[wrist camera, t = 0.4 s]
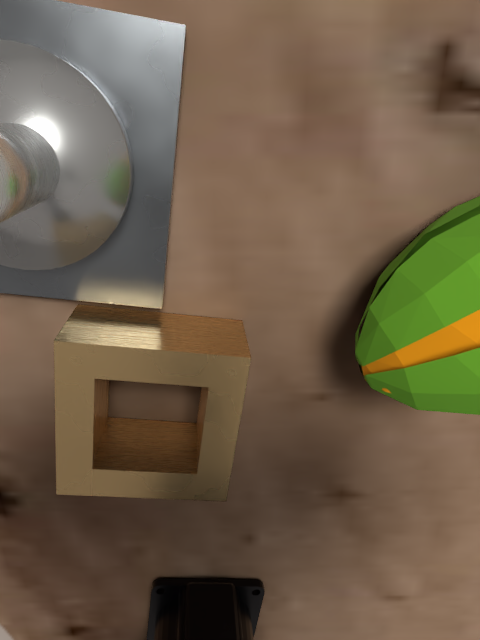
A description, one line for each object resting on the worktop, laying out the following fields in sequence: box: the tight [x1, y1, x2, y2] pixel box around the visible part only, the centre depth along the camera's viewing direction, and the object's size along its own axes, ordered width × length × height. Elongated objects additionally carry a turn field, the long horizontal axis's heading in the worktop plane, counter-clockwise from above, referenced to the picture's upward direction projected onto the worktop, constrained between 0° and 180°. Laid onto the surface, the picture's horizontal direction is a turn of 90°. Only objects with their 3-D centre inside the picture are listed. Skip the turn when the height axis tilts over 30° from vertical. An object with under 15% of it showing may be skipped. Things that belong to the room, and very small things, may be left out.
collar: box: [54, 304, 251, 501], centre depth 19 cm, size 7×7×4 cm
